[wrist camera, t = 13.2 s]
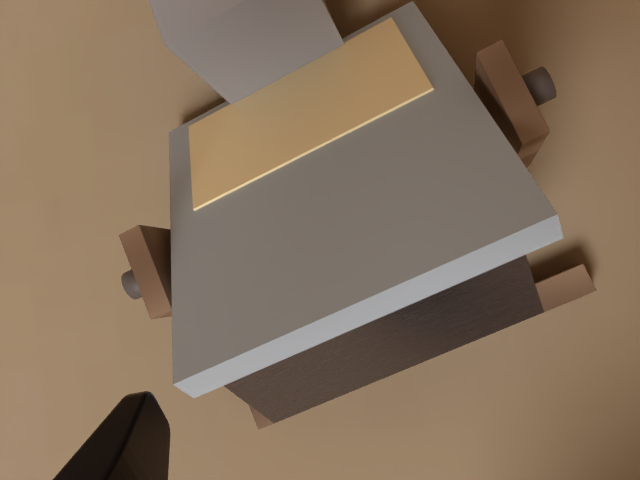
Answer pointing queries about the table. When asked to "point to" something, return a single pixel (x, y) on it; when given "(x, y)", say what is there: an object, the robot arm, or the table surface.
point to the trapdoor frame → (509, 114)
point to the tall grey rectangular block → (245, 39)
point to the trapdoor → (347, 224)
